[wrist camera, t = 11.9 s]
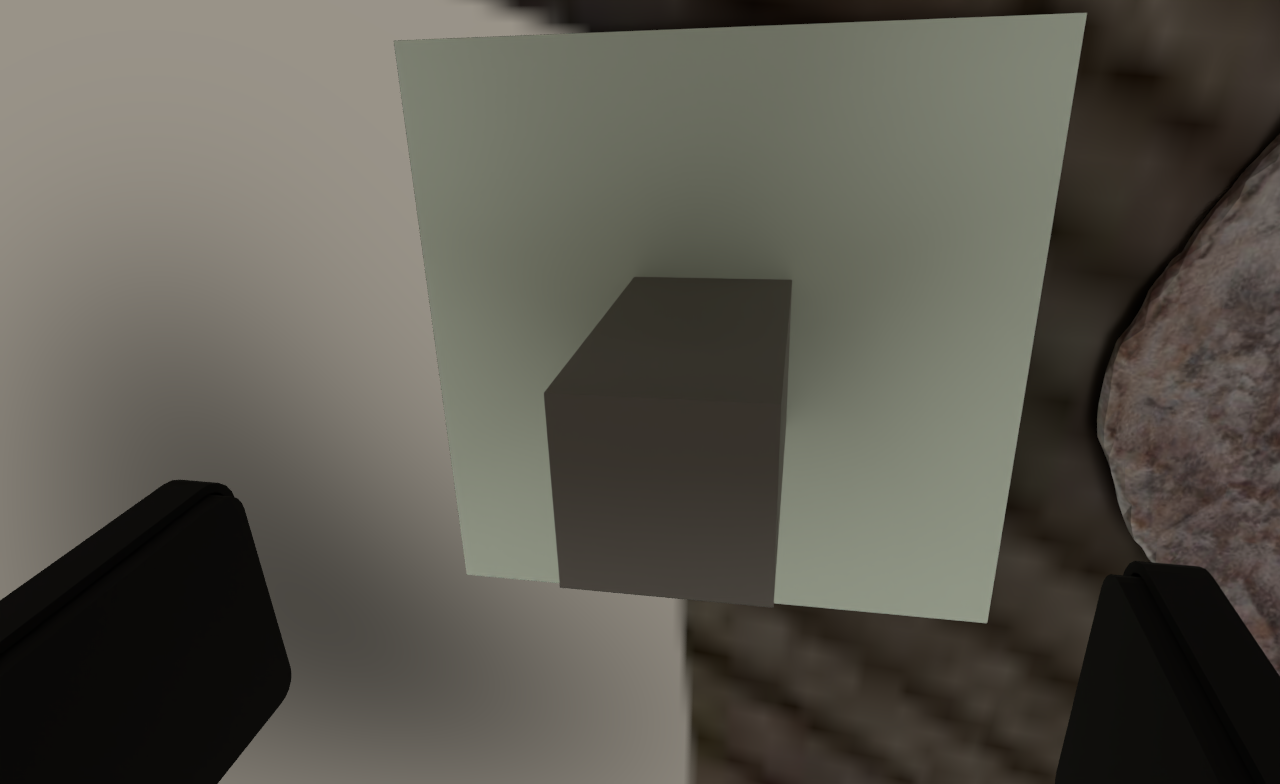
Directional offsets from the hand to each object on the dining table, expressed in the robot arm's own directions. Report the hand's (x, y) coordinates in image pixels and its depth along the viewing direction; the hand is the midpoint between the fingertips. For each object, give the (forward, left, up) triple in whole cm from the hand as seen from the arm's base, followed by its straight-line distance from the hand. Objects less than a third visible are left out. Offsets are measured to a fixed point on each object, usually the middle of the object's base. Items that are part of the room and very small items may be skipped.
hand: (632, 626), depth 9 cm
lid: (0, +1, -12) cm, 12 cm away
